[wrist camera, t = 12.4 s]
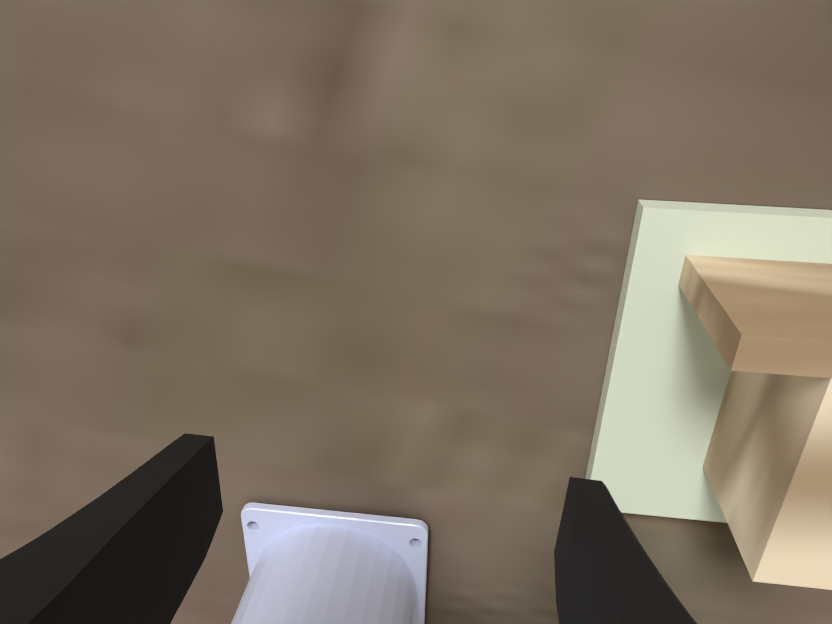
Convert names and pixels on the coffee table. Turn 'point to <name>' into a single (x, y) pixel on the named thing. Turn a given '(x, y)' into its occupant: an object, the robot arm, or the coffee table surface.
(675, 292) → the board
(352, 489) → the coffee table surface
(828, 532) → the wooden t-shaped block
